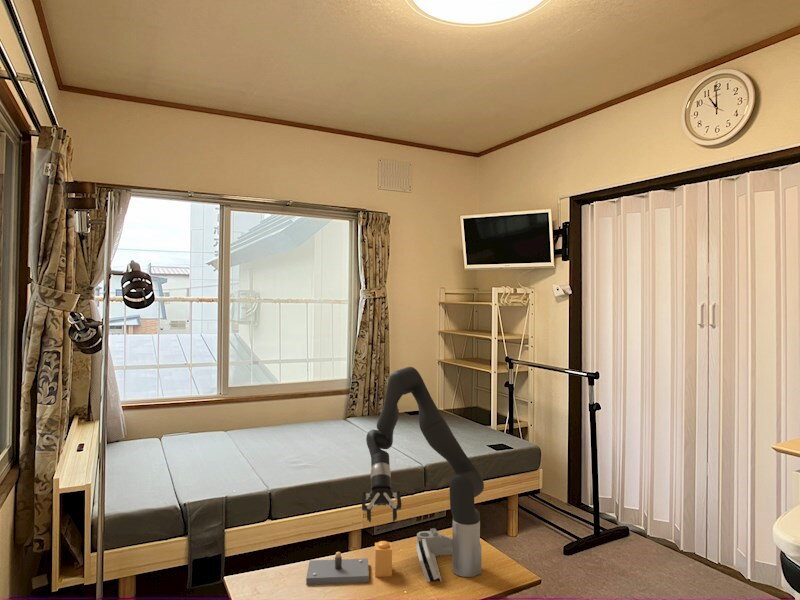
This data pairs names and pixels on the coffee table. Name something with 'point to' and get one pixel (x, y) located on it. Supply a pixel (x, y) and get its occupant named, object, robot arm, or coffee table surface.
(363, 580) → the riveted grey base plate
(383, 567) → the orange dome-topped block
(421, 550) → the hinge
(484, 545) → the coffee table surface
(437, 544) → the grey mounting bracket
